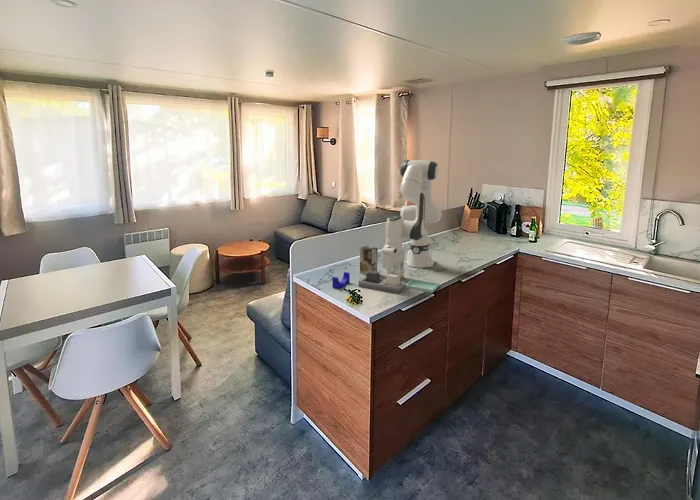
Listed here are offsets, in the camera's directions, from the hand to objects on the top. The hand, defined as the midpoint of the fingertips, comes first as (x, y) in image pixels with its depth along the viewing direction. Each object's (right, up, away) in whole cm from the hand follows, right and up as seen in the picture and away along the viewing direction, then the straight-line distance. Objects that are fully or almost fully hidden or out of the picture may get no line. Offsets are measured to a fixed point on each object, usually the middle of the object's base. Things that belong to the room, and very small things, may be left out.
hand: (393, 271), depth 206 cm
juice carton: (+4, -5, +22) cm, 22 cm away
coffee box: (-12, -3, +29) cm, 32 cm away
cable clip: (-28, -8, +8) cm, 30 cm away
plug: (0, -8, +1) cm, 8 cm away
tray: (+17, -9, +6) cm, 20 cm away
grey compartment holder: (-6, -9, +5) cm, 12 cm away
